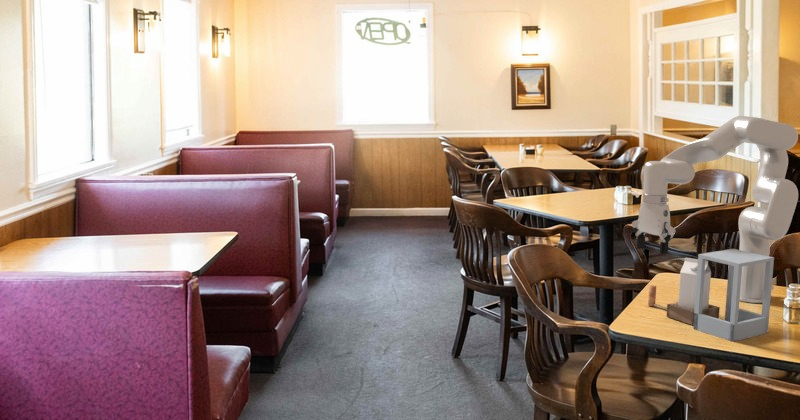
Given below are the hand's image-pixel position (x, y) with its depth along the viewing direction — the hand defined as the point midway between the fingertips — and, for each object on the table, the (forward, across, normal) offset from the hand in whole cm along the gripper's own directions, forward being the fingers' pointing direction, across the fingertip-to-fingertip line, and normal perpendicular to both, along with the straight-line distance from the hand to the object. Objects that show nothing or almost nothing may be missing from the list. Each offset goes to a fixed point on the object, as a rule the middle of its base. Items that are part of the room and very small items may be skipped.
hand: (652, 250), depth 278 cm
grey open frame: (+18, -32, +1) cm, 37 cm away
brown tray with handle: (+18, -12, +1) cm, 22 cm away
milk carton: (+18, -18, +1) cm, 26 cm away
